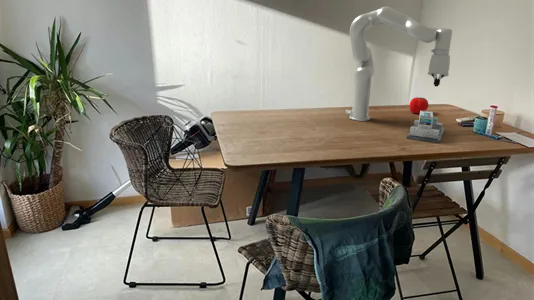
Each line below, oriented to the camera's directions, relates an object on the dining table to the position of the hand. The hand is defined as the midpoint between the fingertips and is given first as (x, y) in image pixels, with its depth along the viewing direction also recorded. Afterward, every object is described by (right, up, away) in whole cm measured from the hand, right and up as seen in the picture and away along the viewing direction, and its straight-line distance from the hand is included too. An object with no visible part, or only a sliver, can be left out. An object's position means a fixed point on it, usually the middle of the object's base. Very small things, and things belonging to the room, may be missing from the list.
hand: (436, 86), depth 236 cm
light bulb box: (-11, -27, -10) cm, 30 cm away
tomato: (+2, -12, +36) cm, 38 cm away
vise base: (-8, -27, -7) cm, 29 cm away
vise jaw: (-6, -24, -3) cm, 25 cm away
